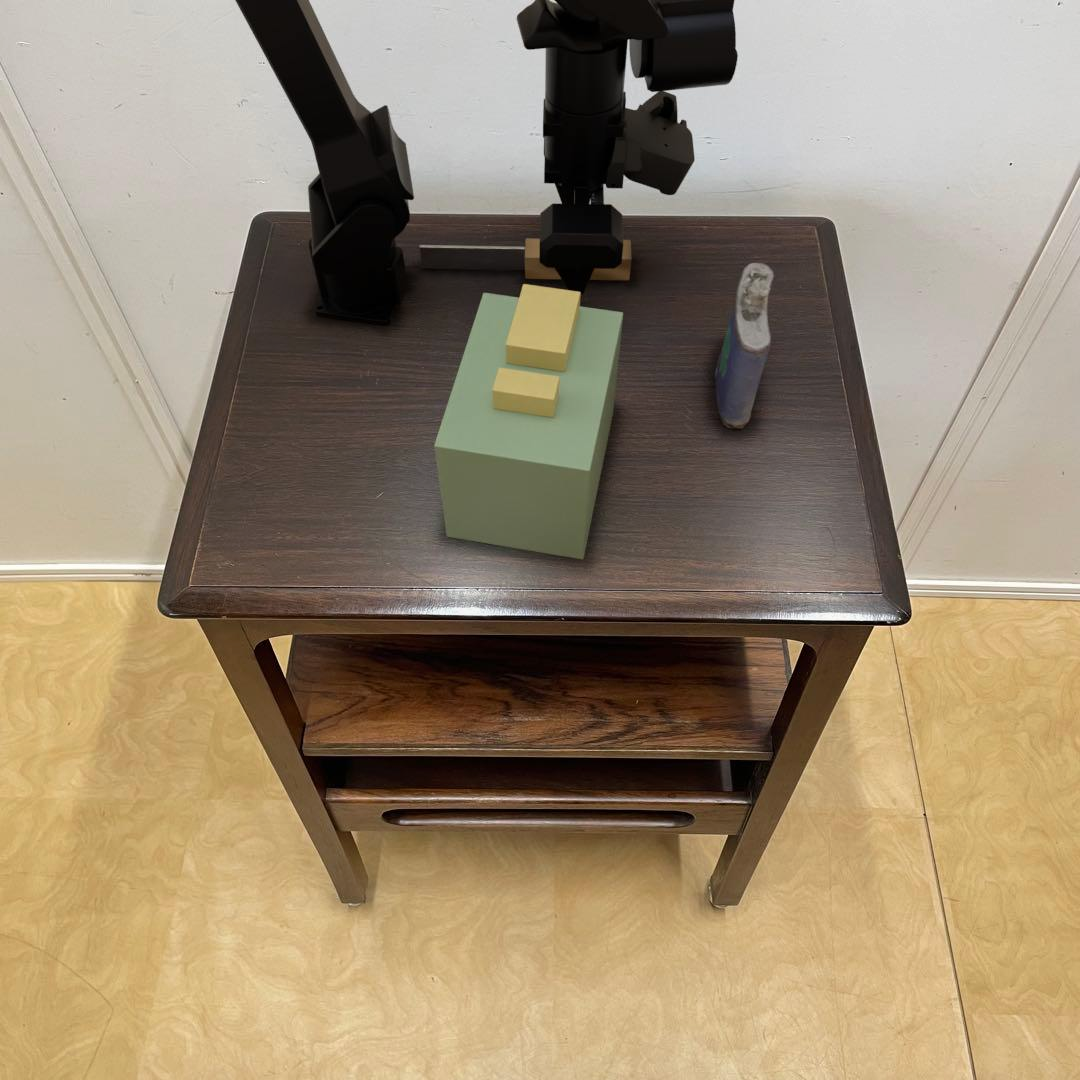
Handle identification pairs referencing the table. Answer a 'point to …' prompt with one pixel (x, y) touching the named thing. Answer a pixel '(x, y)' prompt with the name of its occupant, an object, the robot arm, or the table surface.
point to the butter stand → (527, 439)
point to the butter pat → (526, 392)
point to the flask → (744, 347)
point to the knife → (510, 260)
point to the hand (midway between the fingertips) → (577, 258)
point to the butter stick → (543, 327)
